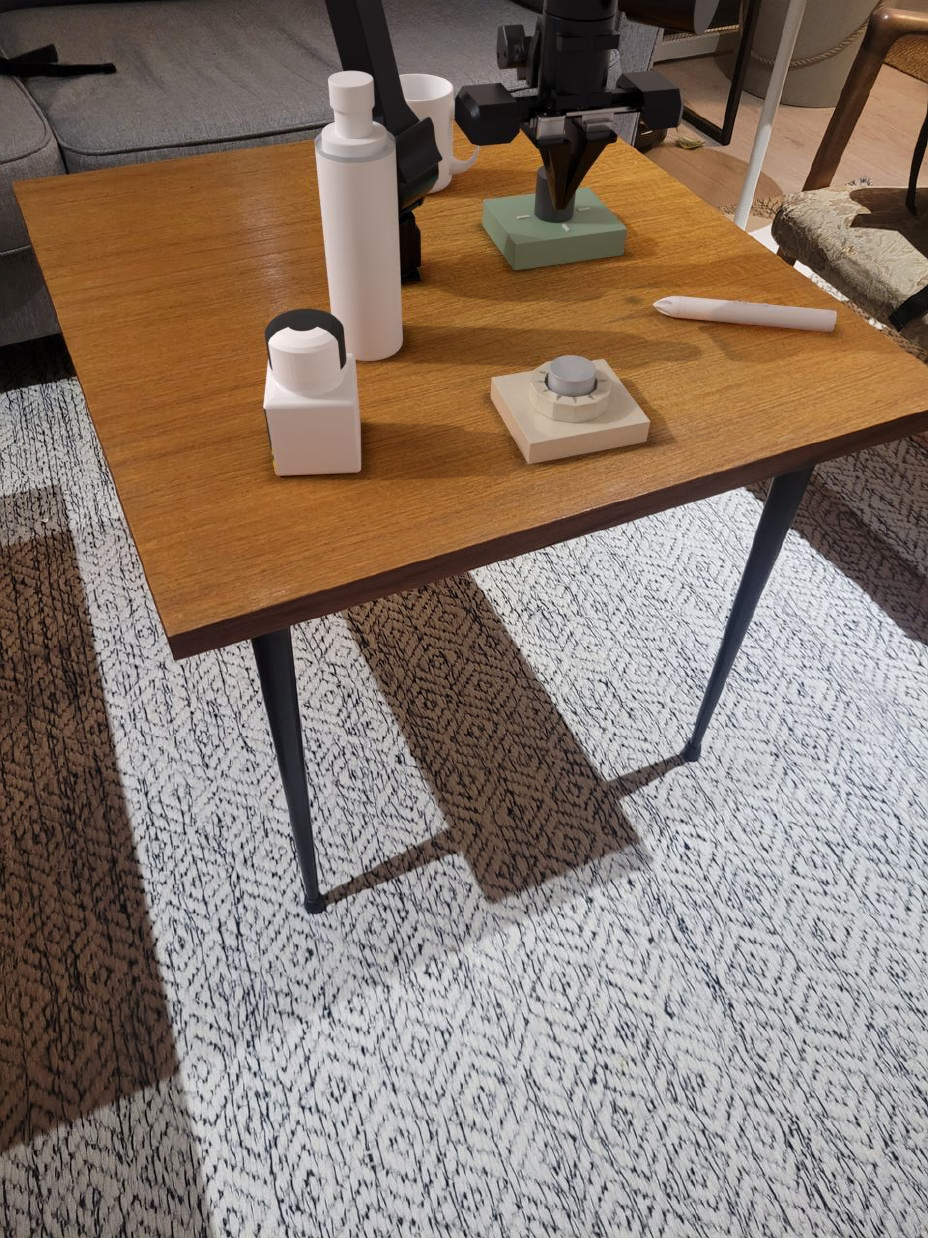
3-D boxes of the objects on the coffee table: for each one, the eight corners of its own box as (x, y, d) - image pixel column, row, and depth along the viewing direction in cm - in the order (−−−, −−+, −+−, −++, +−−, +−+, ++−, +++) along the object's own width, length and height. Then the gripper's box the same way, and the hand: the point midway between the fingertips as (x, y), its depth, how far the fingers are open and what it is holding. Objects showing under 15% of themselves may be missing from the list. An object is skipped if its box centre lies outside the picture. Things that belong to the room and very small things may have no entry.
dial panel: (513, 270, 100) (515, 242, 97) (481, 225, 106) (482, 197, 104) (623, 255, 102) (627, 227, 100) (585, 211, 109) (588, 184, 107)
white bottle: (407, 358, 88) (397, 68, 69) (337, 364, 87) (308, 72, 68) (397, 321, 92) (386, 39, 73) (331, 327, 91) (302, 42, 73)
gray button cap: (557, 402, 78) (559, 384, 76) (540, 376, 80) (542, 358, 79) (601, 394, 78) (603, 376, 77) (583, 368, 81) (585, 351, 80)
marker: (650, 319, 93) (654, 297, 92) (651, 308, 95) (654, 287, 93) (831, 336, 92) (838, 314, 90) (828, 325, 93) (836, 304, 92)
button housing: (528, 464, 78) (531, 425, 75) (490, 397, 84) (492, 359, 81) (646, 441, 80) (654, 403, 77) (600, 378, 86) (606, 340, 83)
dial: (579, 219, 101) (584, 175, 98) (542, 224, 100) (545, 179, 97) (564, 202, 104) (569, 158, 100) (528, 206, 103) (531, 162, 99)
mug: (469, 203, 110) (472, 107, 102) (374, 191, 112) (369, 95, 104) (485, 174, 116) (489, 80, 108) (394, 162, 117) (391, 69, 109)
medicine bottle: (279, 425, 81) (258, 299, 72) (360, 422, 81) (350, 296, 72) (275, 477, 76) (252, 349, 67) (361, 474, 76) (350, 346, 67)
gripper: (646, -26, 79) (618, 161, 91) (437, -15, 75) (436, 180, 87) (705, 14, 72) (666, 212, 84) (477, 29, 68) (470, 235, 80)
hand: (558, 208), depth 84 cm, fingers closed
